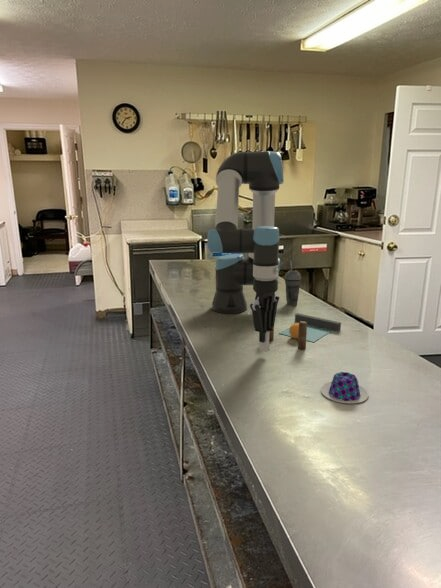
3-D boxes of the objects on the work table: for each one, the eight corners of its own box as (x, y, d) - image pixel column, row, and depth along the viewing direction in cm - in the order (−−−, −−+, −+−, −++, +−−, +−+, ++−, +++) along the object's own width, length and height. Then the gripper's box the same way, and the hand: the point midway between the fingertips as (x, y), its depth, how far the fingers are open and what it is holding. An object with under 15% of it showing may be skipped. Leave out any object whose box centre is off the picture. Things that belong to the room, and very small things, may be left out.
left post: (264, 339, 151) (265, 315, 148) (268, 337, 152) (269, 313, 150) (270, 341, 149) (271, 316, 147) (274, 339, 151) (275, 314, 148)
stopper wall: (294, 321, 169) (295, 314, 168) (297, 320, 170) (297, 313, 169) (338, 331, 158) (338, 323, 157) (340, 330, 159) (340, 322, 158)
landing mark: (278, 333, 156) (278, 333, 156) (298, 323, 167) (298, 323, 167) (313, 342, 148) (313, 342, 148) (331, 331, 158) (331, 330, 158)
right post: (296, 348, 143) (297, 322, 140) (300, 346, 145) (301, 320, 142) (303, 350, 141) (304, 324, 139) (307, 348, 143) (308, 322, 141)
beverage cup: (300, 307, 187) (301, 261, 182) (283, 306, 189) (284, 261, 184) (300, 302, 194) (302, 258, 189) (284, 301, 196) (285, 258, 190)
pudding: (333, 379, 122) (334, 362, 120) (375, 392, 114) (377, 374, 113) (312, 395, 113) (313, 377, 112) (356, 411, 106) (357, 391, 104)
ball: (286, 324, 150) (294, 319, 154) (286, 338, 152) (294, 333, 156) (300, 328, 146) (308, 323, 150) (299, 342, 148) (307, 337, 152)
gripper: (263, 284, 123) (262, 360, 130) (287, 275, 133) (285, 347, 139) (242, 280, 128) (242, 354, 134) (267, 272, 138) (265, 341, 144)
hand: (264, 350), depth 137 cm, fingers closed
